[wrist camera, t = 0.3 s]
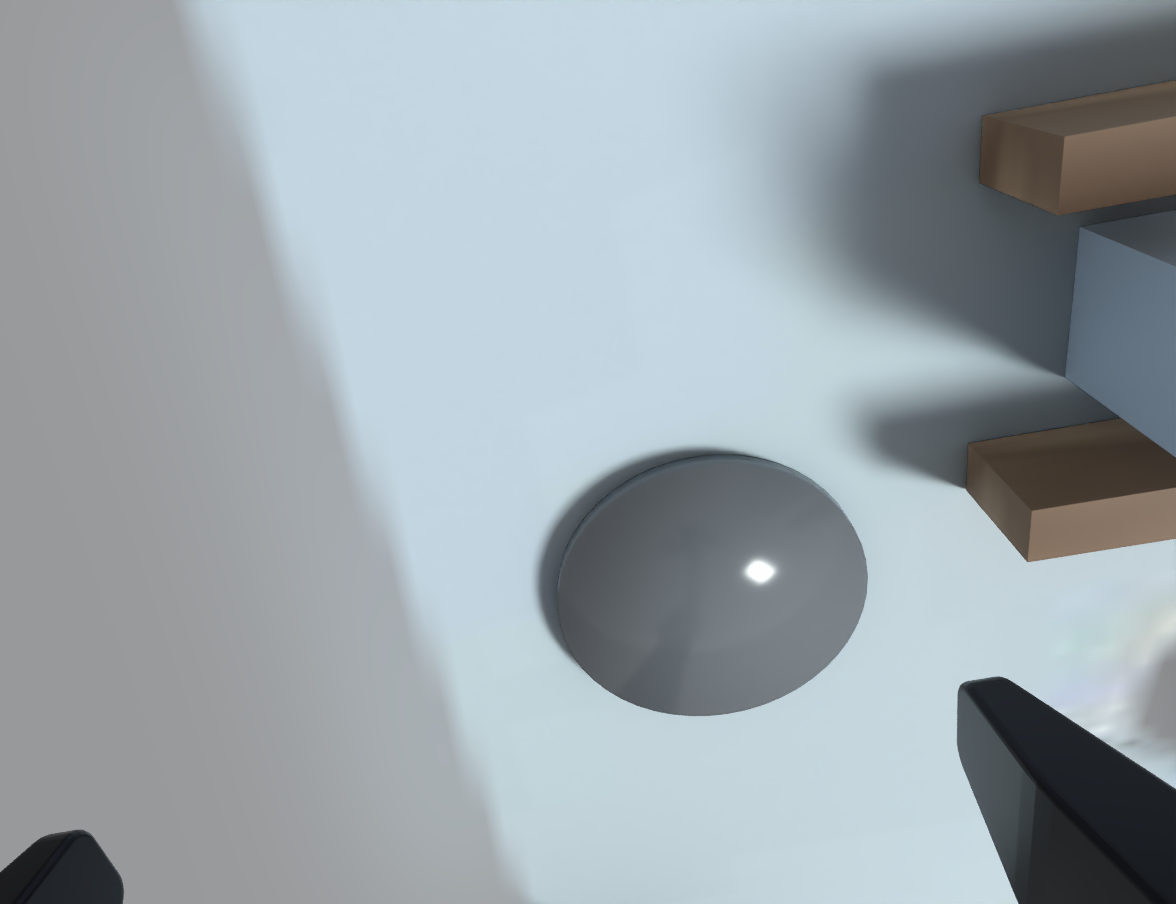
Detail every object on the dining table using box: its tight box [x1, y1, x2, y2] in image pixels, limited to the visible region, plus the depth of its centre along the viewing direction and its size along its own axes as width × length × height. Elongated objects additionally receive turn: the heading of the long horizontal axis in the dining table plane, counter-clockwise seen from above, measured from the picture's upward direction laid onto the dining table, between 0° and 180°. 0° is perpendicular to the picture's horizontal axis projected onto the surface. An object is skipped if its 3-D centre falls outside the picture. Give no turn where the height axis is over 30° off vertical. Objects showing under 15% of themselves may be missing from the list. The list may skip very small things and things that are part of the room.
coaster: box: [558, 455, 868, 716], centre depth 25 cm, size 9×9×1 cm
